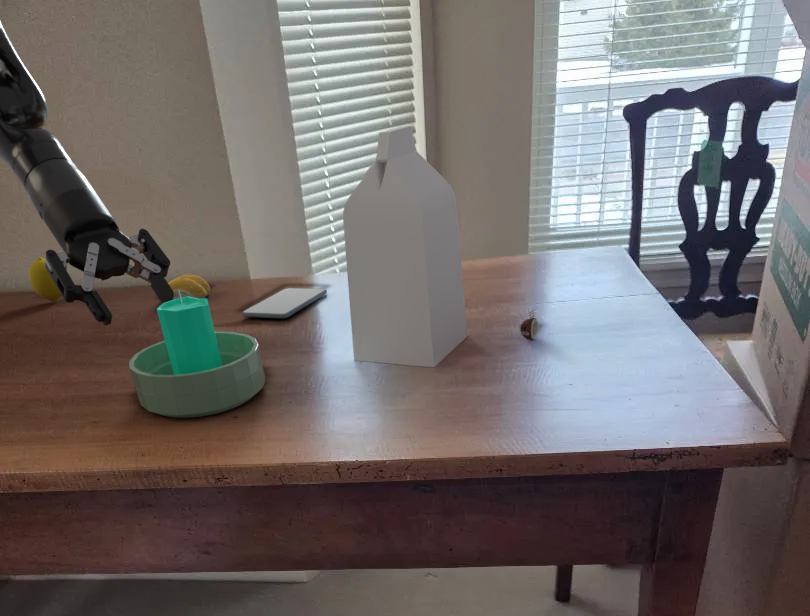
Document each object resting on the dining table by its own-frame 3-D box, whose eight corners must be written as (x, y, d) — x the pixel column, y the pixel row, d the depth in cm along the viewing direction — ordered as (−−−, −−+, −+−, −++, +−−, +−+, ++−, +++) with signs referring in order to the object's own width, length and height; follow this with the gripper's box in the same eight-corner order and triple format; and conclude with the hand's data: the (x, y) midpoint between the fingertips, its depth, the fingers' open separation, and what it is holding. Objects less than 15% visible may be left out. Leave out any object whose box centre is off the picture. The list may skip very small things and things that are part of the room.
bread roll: (215, 290, 133) (210, 268, 130) (202, 305, 125) (197, 281, 123) (170, 294, 133) (165, 271, 131) (155, 308, 126) (149, 284, 123)
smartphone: (328, 288, 124) (285, 314, 113) (329, 294, 125) (286, 320, 113) (285, 287, 127) (239, 312, 115) (286, 293, 127) (240, 318, 116)
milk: (434, 367, 92) (420, 133, 78) (354, 360, 97) (326, 137, 82) (467, 336, 101) (460, 120, 86) (393, 330, 105) (374, 125, 91)
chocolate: (526, 334, 100) (527, 304, 98) (541, 336, 99) (542, 306, 96) (516, 341, 98) (516, 311, 96) (531, 343, 97) (531, 313, 94)
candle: (205, 401, 87) (179, 299, 80) (168, 395, 89) (140, 295, 83) (237, 382, 91) (216, 284, 84) (201, 377, 94) (178, 281, 87)
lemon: (45, 308, 132) (29, 262, 127) (34, 303, 135) (18, 258, 131) (75, 300, 135) (60, 255, 130) (64, 296, 138) (49, 252, 134)
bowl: (201, 431, 82) (189, 384, 79) (116, 408, 89) (102, 365, 86) (291, 382, 92) (283, 340, 89) (207, 366, 99) (198, 326, 96)
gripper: (15, 197, 86) (90, 309, 85) (125, 177, 94) (194, 279, 93) (15, 240, 92) (84, 345, 92) (118, 218, 100) (183, 314, 100)
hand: (140, 311), depth 92 cm, fingers open, 8 cm apart
